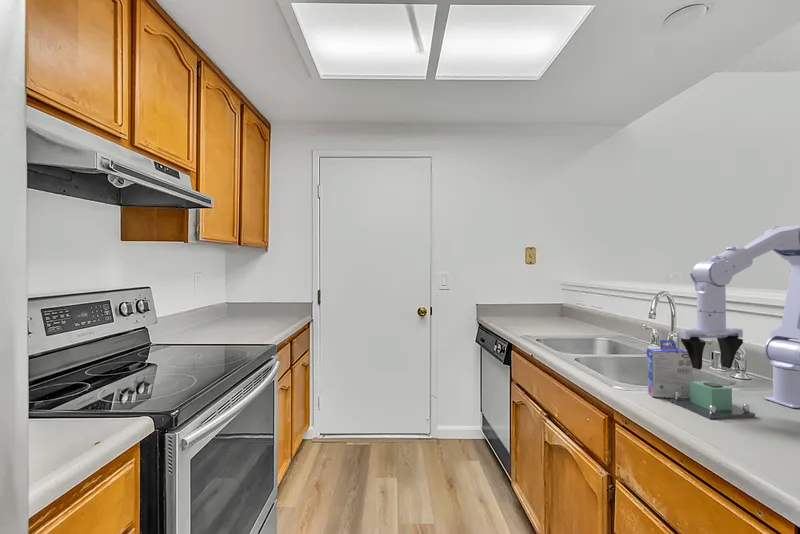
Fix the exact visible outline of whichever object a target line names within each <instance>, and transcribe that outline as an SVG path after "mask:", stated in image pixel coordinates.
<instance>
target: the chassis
mask: <svg viewBox="0 0 800 534" xmlns="http://www.w3.org/2000/svg"><path fill="white" fill-rule="evenodd" d="M670 401H671V402H670V403H672V402H673V403H672V404H674V403H675V404H674V405H677V406H679V407H682V408H683V409H686V410H688V411H691V412H693V413H695V414H697V415H699V416H702V417H704V418H707V419H708V420H718V419H719V420H721V419H722V420H723V419H724V420H725V419H741V418H756V412H752V411H750V404H747V403H742V407H739V406H737V405H733V404H732V410H716V406H713V405H710V410H709V409H707V408H704V407H702V406H699V405H697V404H695V403H692V402H690V398H681V392H675V398H670Z"/></svg>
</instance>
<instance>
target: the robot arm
mask: <svg viewBox="0 0 800 534" xmlns="http://www.w3.org/2000/svg"><path fill="white" fill-rule="evenodd" d="M725 250H726V251H723V252H721V253H720V254H718V255H713V256H711V257H710V259H709V260H708V261H699V262H698V263H696V264H695V265H694V266H693V268H692V270H691V272H690V273H689V276H690V279H691V282H692V283H694V290H695V292H696V327H695V328H689V329H680V330H679V332H680V333H679V334H680V335H679V336H680V337H679V338H680V342H681V344H682V345H683V346H684V349H686V350H687V352H688V354H689V357H690V360H691V363H692V367H693V369H695V370H702V369H703V353H704V350H705V346H706V343H707V342H706V341H702V340H701V339H716V340H717V343H718V346H719V352H720V364H721V366H722V367H723V368H726V369H732V366H733V362H734V359H735V357H736V355H737V353H738V351H739V349H740V348H741V346H742V345H743V344H744V340H743V336H744V335H743V334H744V333H743V332H744V329H742V328H733V327H732V328H727V308H726V307H727V304H726V303H727V299H726V295H727V293H726V292H727V291H726V289H727V288H726V285H729V284H730V283H731V281H732V279H733V277H734V276H735V275H737V274H739V273H741V272H742V271H745V270H746V269H748V268H750V267H752V264H753V262H754V259H757V258H758V257H760V256H762V255H764V254H767V253H769V252H771V251H773V252H774V253H775V254H777V255H779V256H780V257H781V258H782V259H784V260H786V261H787V262H789V264H790V265H791V270H790V276H789V279H788V280H789V281H788V286H787V292H786V296H785V301H784V302H785V303H784V308H783V313H782V317H781V318H782V320H781V325H780V326H779V327H777V328H775V329H773V330H772V331H770V333H769V337H768V339H767V340H766V342H765V344H764V346H763V347H764V349H763V352H764V356H765V358H766V359H768V361H769V362H770V363H769V364H770V365H772V385H773V386H772V389H773V392H772V396H764V397H763V399H765V400H768V401H771V402H773V403H777V404H780V405H783V406H785V407H788V408H793V409H800V224H799V225H787V226H774V227H771V228H769V229H767V230H765V231H764V234H762V235H760V236H759V237H757V238H756V239H754V240H752V241H751V242H749V243H748V244H746V245H744V246H743V247H742V246H739V245H738V246H735V245H733V246H731V245H730V246H727V247H726V248H725ZM796 340H797V341H796Z"/></svg>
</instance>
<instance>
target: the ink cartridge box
mask: <svg viewBox="0 0 800 534" xmlns="http://www.w3.org/2000/svg"><path fill="white" fill-rule="evenodd" d="M667 343H668V344H672V345H665V344H667ZM659 344H660V348H646V365H647V367H646V369H647V393H648V394H649V395H650V396H651V397H652V398H664V397H665V398H668V399H669V398H670V399H673V398H675V392H681V398H690V381H694V368H693V367H692V363H691V360H690V357H689V354H688V352H687V350H686V348H677V345H676V342H675V340H674V339H673V340H672V339H671V340H670V339H668V340H667V339H660V340H659Z"/></svg>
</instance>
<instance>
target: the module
mask: <svg viewBox="0 0 800 534" xmlns="http://www.w3.org/2000/svg"><path fill="white" fill-rule="evenodd" d="M690 402H692V403H695V404H697V405H699V406H702V407H704V408H707V409H709V410H710V405H713V406H716V410H732V405H733V389H732V387H728V386H726V385H723V384H720V383H717V382H714V381H711V380H693V381H690Z"/></svg>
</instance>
